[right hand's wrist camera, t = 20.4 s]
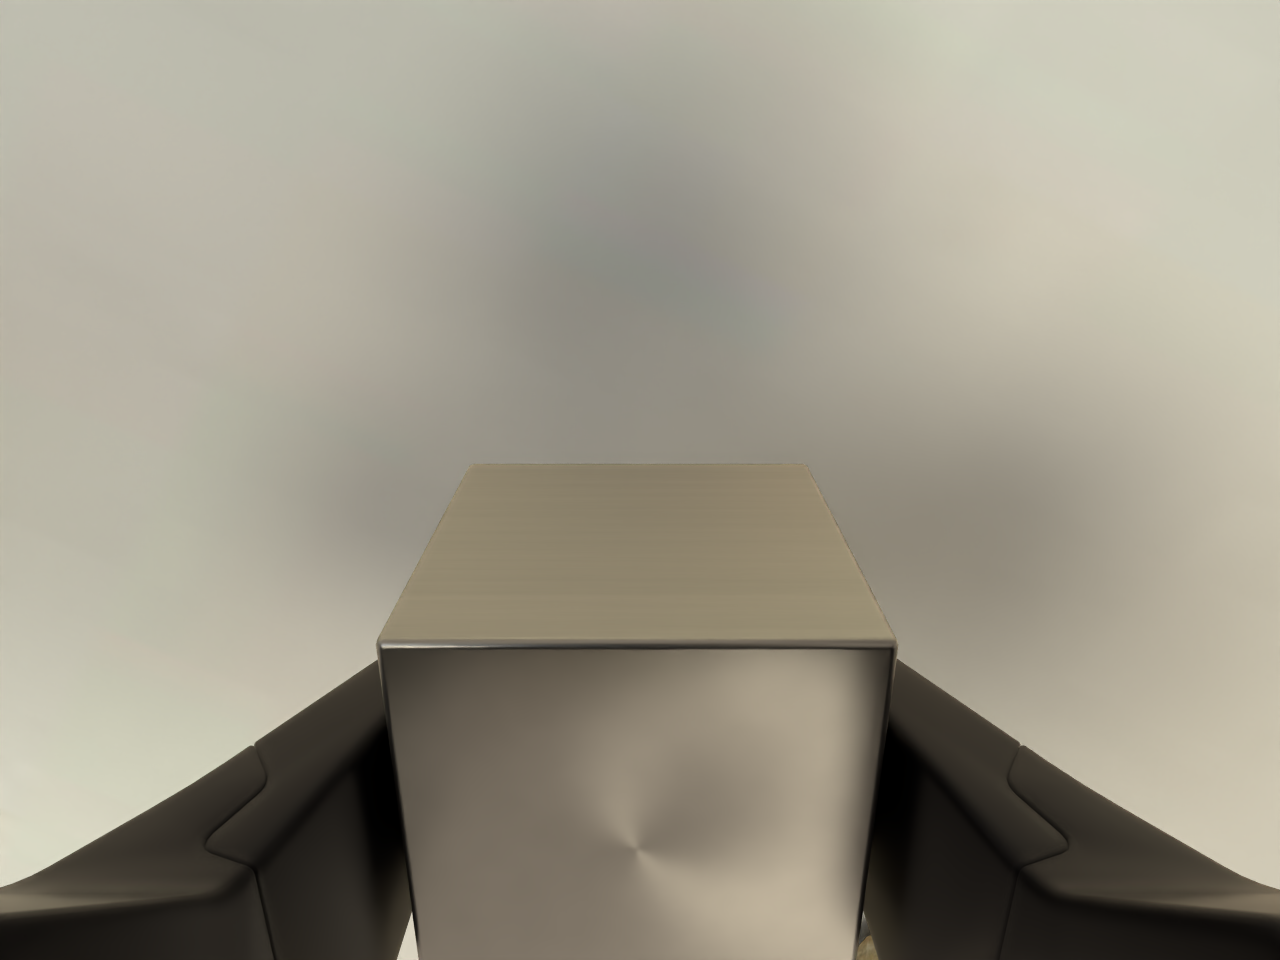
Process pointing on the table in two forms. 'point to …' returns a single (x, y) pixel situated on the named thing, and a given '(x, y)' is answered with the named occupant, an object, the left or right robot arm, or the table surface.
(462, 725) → the cube
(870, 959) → the sculpture
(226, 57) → the table surface
